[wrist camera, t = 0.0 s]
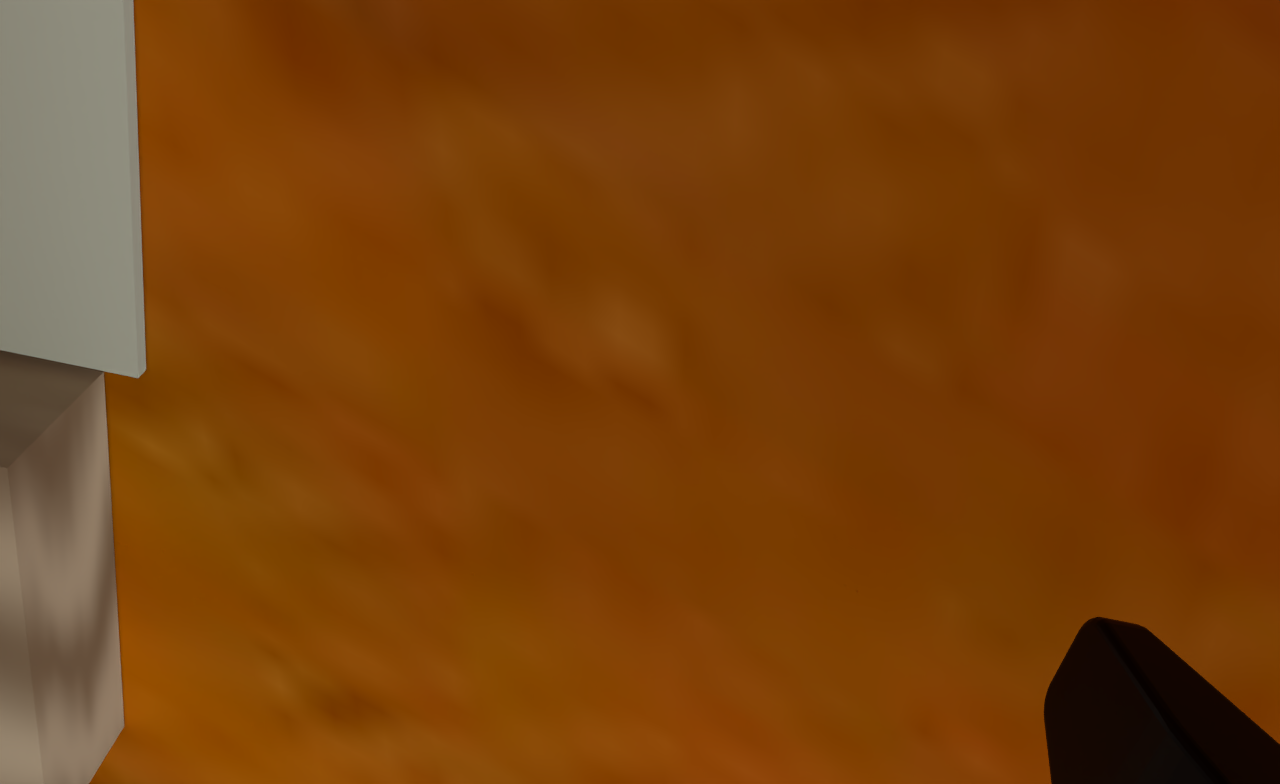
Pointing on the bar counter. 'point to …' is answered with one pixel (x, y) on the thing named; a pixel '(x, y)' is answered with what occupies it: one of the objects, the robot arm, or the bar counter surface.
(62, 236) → the mat
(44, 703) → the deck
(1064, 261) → the bar counter surface
